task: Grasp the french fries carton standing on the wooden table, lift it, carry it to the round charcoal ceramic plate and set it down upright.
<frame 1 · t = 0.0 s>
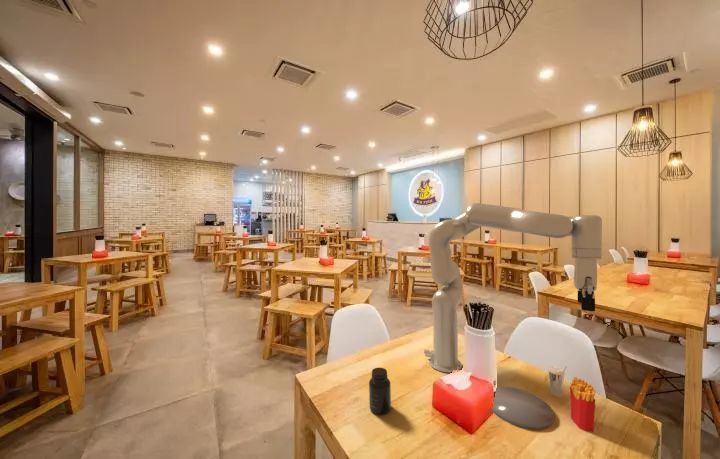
hand: (585, 306, 90), 31 cm above the table, tool pointing down, fingers open, 9 cm apart
french fries: (582, 424, 81), on the table
plate: (518, 408, 88), on the table
supplement bottle: (380, 409, 88), on the table
milkshake: (557, 395, 94), on the table
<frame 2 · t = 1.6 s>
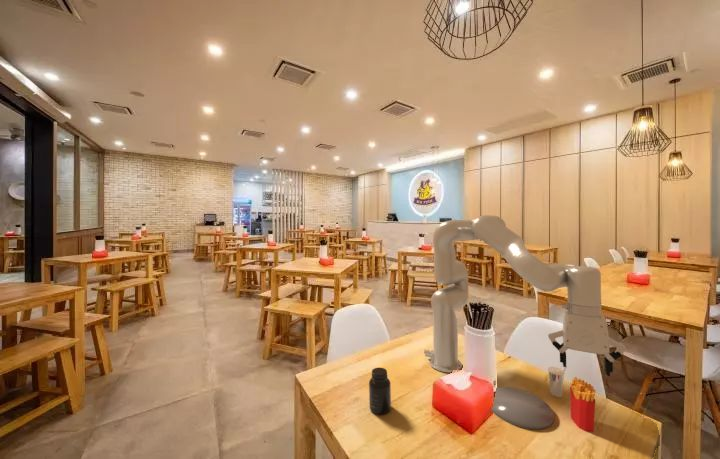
hand: (585, 369, 80), 16 cm above the table, tool pointing down, fingers open, 9 cm apart
nothing on the table moved.
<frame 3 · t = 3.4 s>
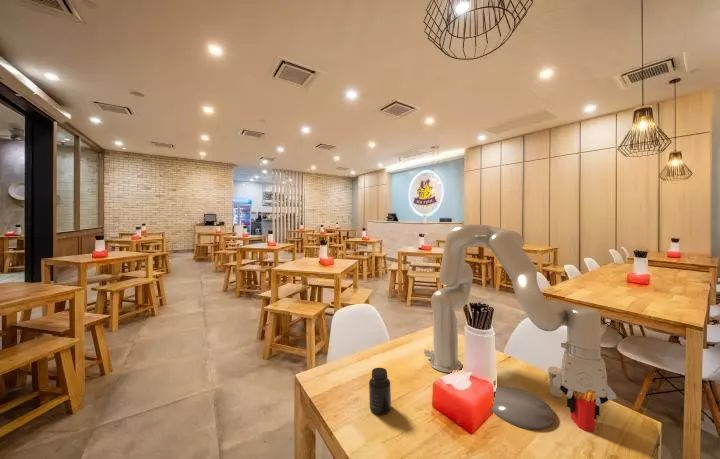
hand: (582, 412, 81), 3 cm above the table, tool pointing down, fingers closed on french fries, 4 cm apart
french fries: (582, 424, 81), on the table, touching gripper
everything else where it was.
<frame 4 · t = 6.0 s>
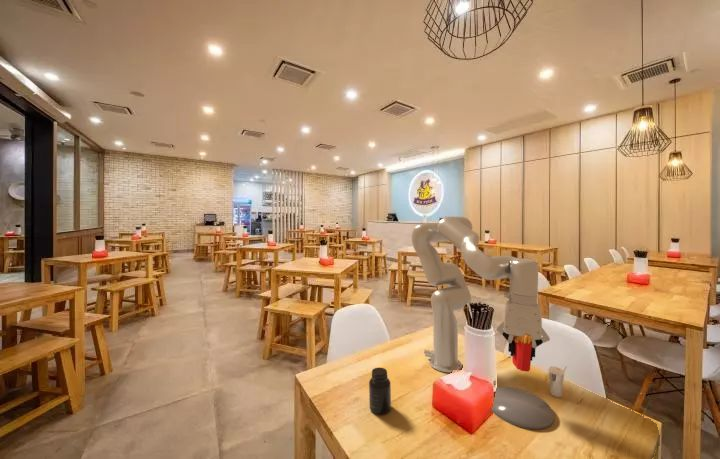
hand: (521, 355, 87), 17 cm above the table, tool pointing down, fingers closed on french fries, 4 cm apart
french fries: (521, 367, 87), point 13 cm above the table, touching gripper
everything else where it was.
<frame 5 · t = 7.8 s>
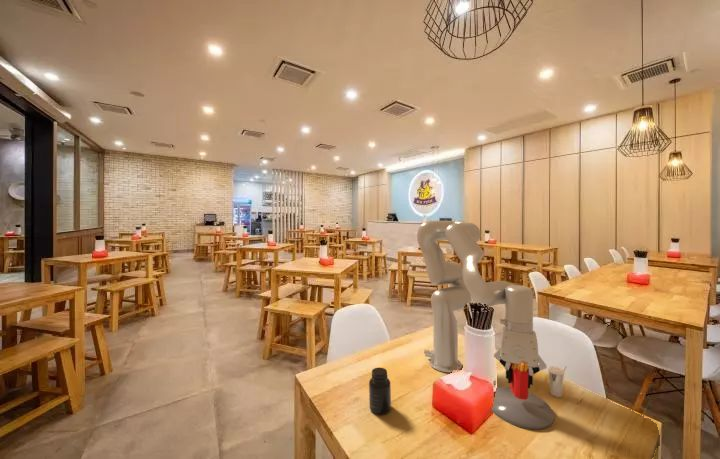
hand: (519, 383, 87), 8 cm above the table, tool pointing down, fingers closed on french fries, 4 cm apart
french fries: (519, 394, 87), point 5 cm above the table, touching gripper
everything else where it was.
when the fingers open (6 cm above the table, at t = 9.0 s): french fries drops 1 cm, resting on plate.
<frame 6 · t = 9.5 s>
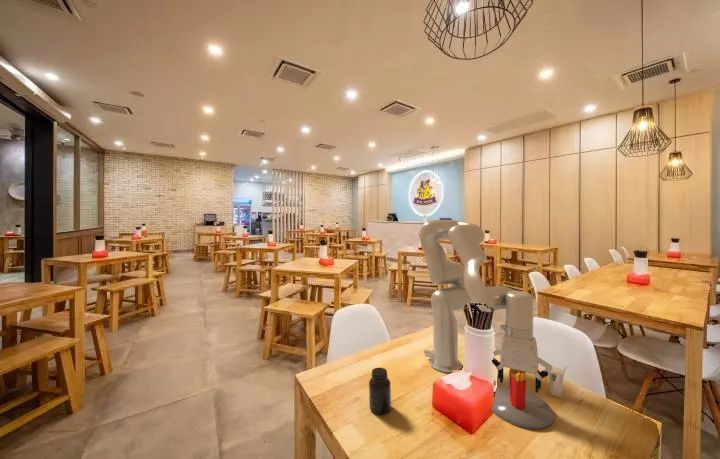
hand: (518, 385, 87), 7 cm above the table, tool pointing down, fingers open, 9 cm apart
french fries: (517, 403, 88), point 1 cm above the table, touching plate
everything else where it was.
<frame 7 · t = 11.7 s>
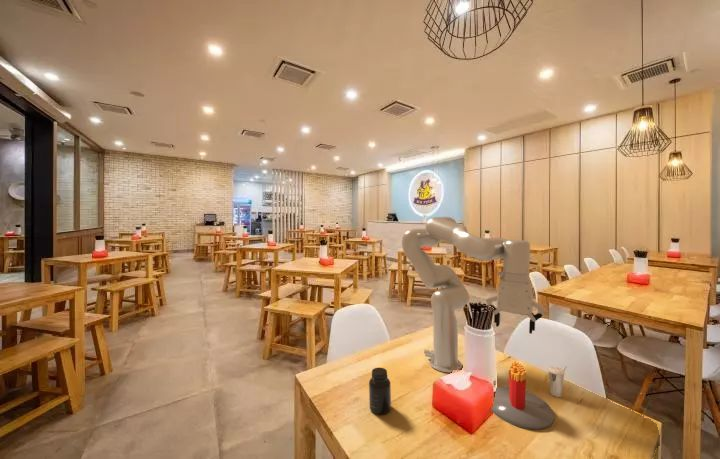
hand: (513, 328, 92), 23 cm above the table, tool pointing down, fingers open, 9 cm apart
nothing on the table moved.
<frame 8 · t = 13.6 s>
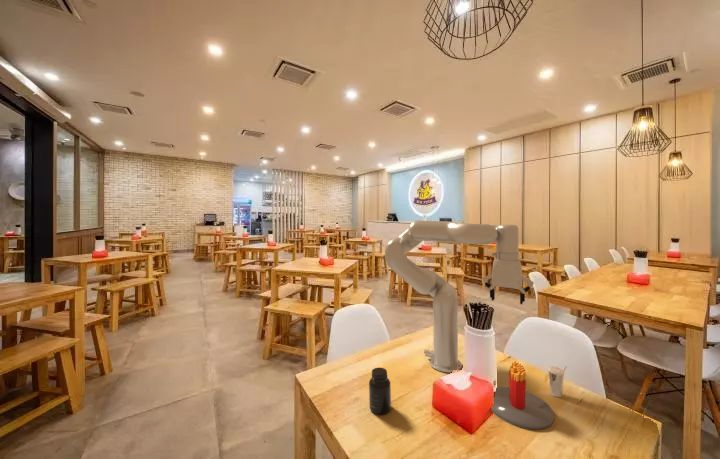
hand: (506, 301, 107), 28 cm above the table, tool pointing down, fingers open, 9 cm apart
nothing on the table moved.
at the end: french fries inside the target area on the plate (0.4 cm from its centre), point 1.3 cm above the plate's base; french fries tilted 0°; the gripper is holding nothing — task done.
